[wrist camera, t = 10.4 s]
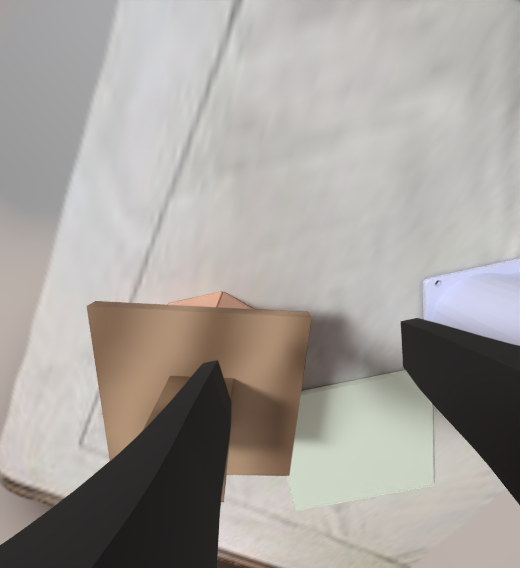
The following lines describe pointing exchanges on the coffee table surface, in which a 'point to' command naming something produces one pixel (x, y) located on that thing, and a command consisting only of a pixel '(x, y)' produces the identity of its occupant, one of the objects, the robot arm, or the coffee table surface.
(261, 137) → the coffee table surface
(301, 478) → the mat
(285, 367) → the lid
